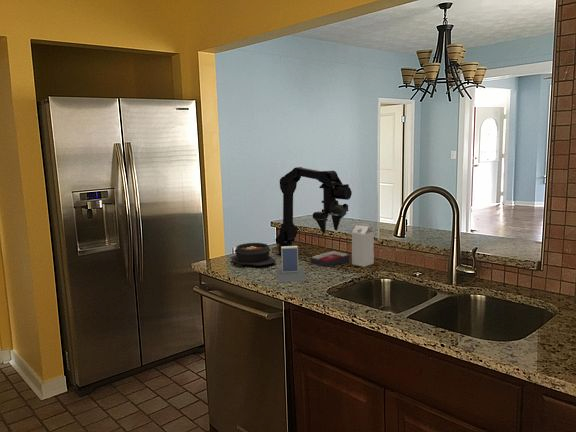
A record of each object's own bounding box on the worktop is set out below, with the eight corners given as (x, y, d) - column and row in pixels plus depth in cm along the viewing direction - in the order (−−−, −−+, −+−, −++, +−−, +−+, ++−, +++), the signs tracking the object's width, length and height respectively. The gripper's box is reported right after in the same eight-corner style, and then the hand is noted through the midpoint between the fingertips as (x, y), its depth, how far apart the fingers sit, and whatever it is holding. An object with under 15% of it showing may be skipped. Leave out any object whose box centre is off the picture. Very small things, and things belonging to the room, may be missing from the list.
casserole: (285, 263, 224) (284, 246, 223) (254, 271, 212) (253, 253, 210) (251, 255, 242) (251, 239, 241) (221, 262, 230) (220, 245, 228)
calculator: (310, 256, 223) (332, 249, 233) (310, 265, 224) (333, 258, 233) (326, 260, 215) (349, 253, 224) (327, 269, 216) (349, 262, 225)
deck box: (281, 271, 210) (281, 246, 208) (297, 270, 211) (297, 245, 209) (282, 272, 208) (281, 247, 206) (298, 271, 208) (297, 247, 206)
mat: (275, 269, 214) (275, 269, 214) (302, 268, 214) (302, 267, 214) (277, 282, 194) (277, 281, 194) (307, 281, 195) (307, 280, 195)
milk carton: (361, 261, 225) (361, 221, 222) (373, 264, 219) (373, 223, 217) (351, 264, 220) (351, 223, 217) (364, 267, 215) (364, 225, 212)
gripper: (331, 201, 207) (332, 237, 210) (355, 197, 221) (355, 230, 223) (311, 200, 215) (312, 234, 217) (336, 195, 228) (336, 228, 231)
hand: (330, 231), depth 222 cm, fingers open, 9 cm apart
